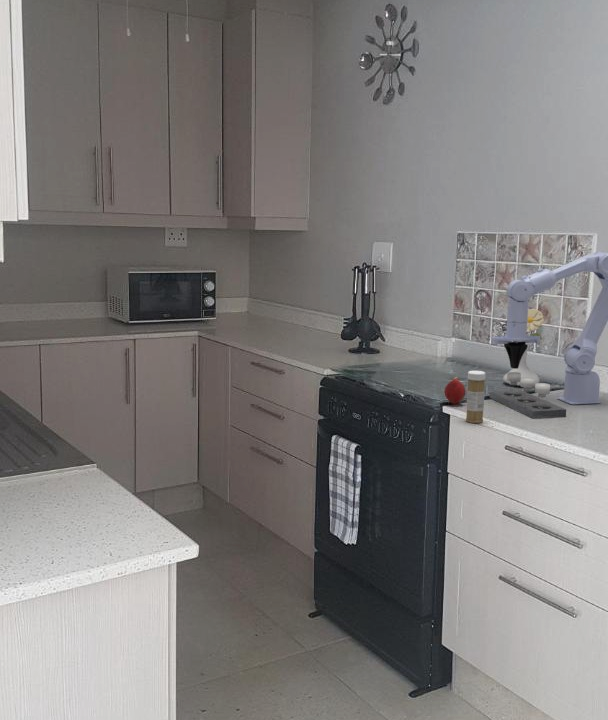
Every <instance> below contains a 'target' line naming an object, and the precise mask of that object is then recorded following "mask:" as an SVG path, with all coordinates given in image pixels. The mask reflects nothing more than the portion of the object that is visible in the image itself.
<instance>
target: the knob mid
mask: <svg viewBox="0 0 608 720" xmlns="http://www.w3.org/2000/svg"><path fill="white" fill-rule="evenodd" d="M520 387H521V388H523V391H524V392H531V390H532V389H533V388H534V389H535V379H534V378H529V377H523V378H521V381H520Z"/></svg>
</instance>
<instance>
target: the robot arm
mask: <svg viewBox="0 0 608 720" xmlns="http://www.w3.org/2000/svg"><path fill="white" fill-rule="evenodd" d="M536 270H537V271H536V272H534V273H532V274H529V275H522V276H521V279H514V280H512V281H510V282H509V284H508V285H507V288H506V294H507V296H508V301H507V312H506V313H507V314H506V315H507V316H506V332H505V335H501V336H492V337H491V344H493V345H503V347H504V348H505V350H506V353H507V356H508V360H509V365H510V368H511V369H517V368H518V367H519V363H520V360H521V358H522V356H523V354H524V352H525V351H526V349H527V346H528V345H527V344H526V343H531V344H540V343H541V340H540V336H541V335H540V336H530V335H527V333H528V332H527V318H528V309H529V300H530V298H531V297H532V296H535V295H537V294H540V293H542V292H544V291H547V290H549V289H552V288H554V287H555V285H556V283H557V281H560V280H562V279H565V278H569V277H572V276H574V275H577V274H579V273H582V272H588V273H589V272H590V273H594V275H595V276H596V277H597V278H598V280H599V282H600V284H601V287H602V288H601V290H600V292H599V294H598V296H597V298H596V301H595V303H594V305H593V307H592V309H591V311H590V313H589V316H588V317H587V320H586V322H585V325H584V327H583V328H582V330H581V333H580V335H579V336H578V338H576V339H575V340H574V341H573V343H572V345H570V347H569V348H568V349H567V350H566V351H565V353H564V355H563V360H564V363H565V364H566V365H567V366H566V368H565V373H564V386H563V387H564V388H563V396H557V399H558V400H560V401H561V402H565V403H567V404H570V405H573V406H574V405H589V404H600V403H601V401H600V400H599V399H600V387H601V378H600V375H599V374H598V373H597V372H596V371H593V369H594V367H595V364H596V355H597V353H598V347H597V345H598V343H599V340H600V338H601V336H602V334H603V332H604V329H605V327H606V325H607V323H608V252H604V251H599V250H598V251H595V252H594V253H593V254H592V253H589V254H586V255H584V256H581V257H579V258H577V259H575V260H573V261H571V262H568V263H565V264H564V265H562V266H560V267H556V268H555V269H553V270H550V269H548V268H541V267H540V268H538V269H536Z"/></svg>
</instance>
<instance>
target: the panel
mask: <svg viewBox="0 0 608 720" xmlns="http://www.w3.org/2000/svg"><path fill="white" fill-rule="evenodd" d="M489 398H490V399H491V400H493V401H495V402H498V403H499V404H502V405H503V406H506V407H508V408H510V409H512V410H515V411H516V412H519V413H520V414H523V415H524V416H527V417H529V418H531V419H545V418H546V419H549V418H550V419H551V418H564V417H567V409H566V408H564V407H561V406H559V405H557V404H554V403H552V402H550V401H547V400H545V399H543V398H542V397H538V396H536V395H534V394H531V393H528V391H524V390H522V389H514V390H513V389H511V390H491V391H489Z"/></svg>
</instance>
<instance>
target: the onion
mask: <svg viewBox="0 0 608 720" xmlns="http://www.w3.org/2000/svg"><path fill="white" fill-rule="evenodd" d="M465 396H466V388H465V385H464V384H463V383H462V382H461V381H460V380H459V377H458V376H456V377H454V378H452V380H451V381H449V382H448V383H447V385H446V386H445V388H444V397H445V398H446V399H447V401H449V402H450V403H451V404H452V405H457V404H458V403H460V402H461V401H462V400H463V399H464V398H465Z"/></svg>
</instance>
